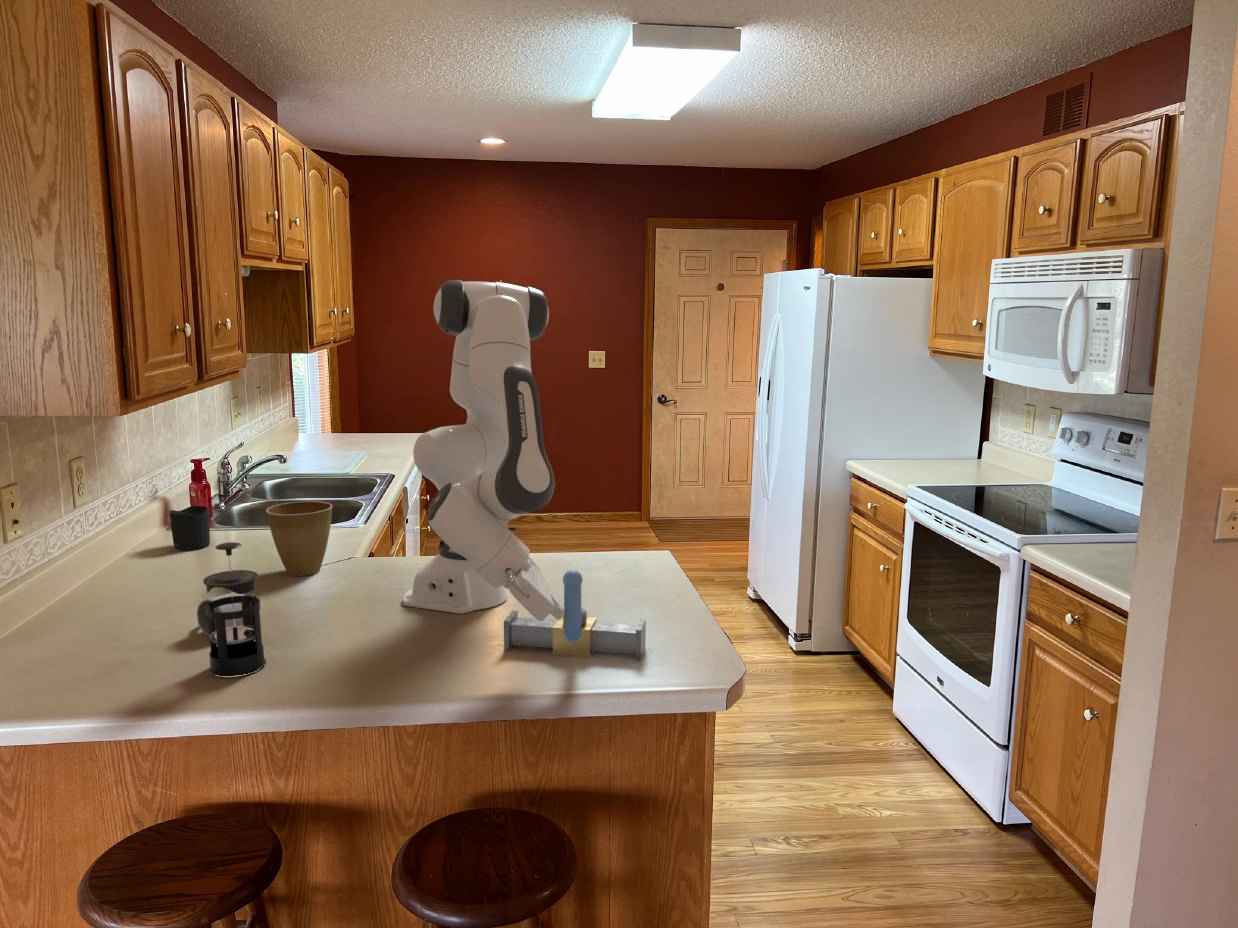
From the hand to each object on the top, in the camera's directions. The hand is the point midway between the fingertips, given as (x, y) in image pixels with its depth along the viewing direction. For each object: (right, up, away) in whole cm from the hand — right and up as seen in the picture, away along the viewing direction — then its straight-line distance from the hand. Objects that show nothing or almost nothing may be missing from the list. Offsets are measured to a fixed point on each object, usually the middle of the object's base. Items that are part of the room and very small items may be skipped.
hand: (561, 614), depth 157 cm
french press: (-58, -10, +6) cm, 60 cm away
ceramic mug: (-69, -7, +23) cm, 74 cm away
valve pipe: (+2, -9, +14) cm, 16 cm away
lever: (+2, -4, +7) cm, 9 cm away
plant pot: (-66, 0, +61) cm, 90 cm away
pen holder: (-103, +4, +82) cm, 132 cm away
